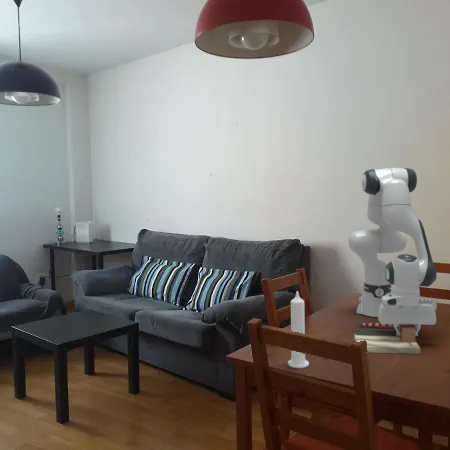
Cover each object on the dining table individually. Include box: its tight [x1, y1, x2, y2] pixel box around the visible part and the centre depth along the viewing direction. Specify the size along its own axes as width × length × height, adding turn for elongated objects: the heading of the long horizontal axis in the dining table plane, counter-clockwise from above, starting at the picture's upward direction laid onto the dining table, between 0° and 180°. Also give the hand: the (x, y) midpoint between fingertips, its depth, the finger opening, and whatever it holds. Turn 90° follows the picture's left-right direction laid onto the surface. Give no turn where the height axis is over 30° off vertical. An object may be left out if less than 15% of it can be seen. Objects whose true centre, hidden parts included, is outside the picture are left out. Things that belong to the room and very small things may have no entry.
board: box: [353, 328, 421, 355], centre depth 183 cm, size 16×21×4 cm
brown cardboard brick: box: [398, 324, 416, 342], centre depth 184 cm, size 7×4×5 cm, turn 171°
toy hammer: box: [359, 322, 417, 329], centre depth 204 cm, size 23×12×6 cm, turn 65°
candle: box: [287, 290, 310, 369], centre depth 166 cm, size 7×7×25 cm
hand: (406, 335), depth 184 cm, fingers closed on brown cardboard brick, 4 cm apart
